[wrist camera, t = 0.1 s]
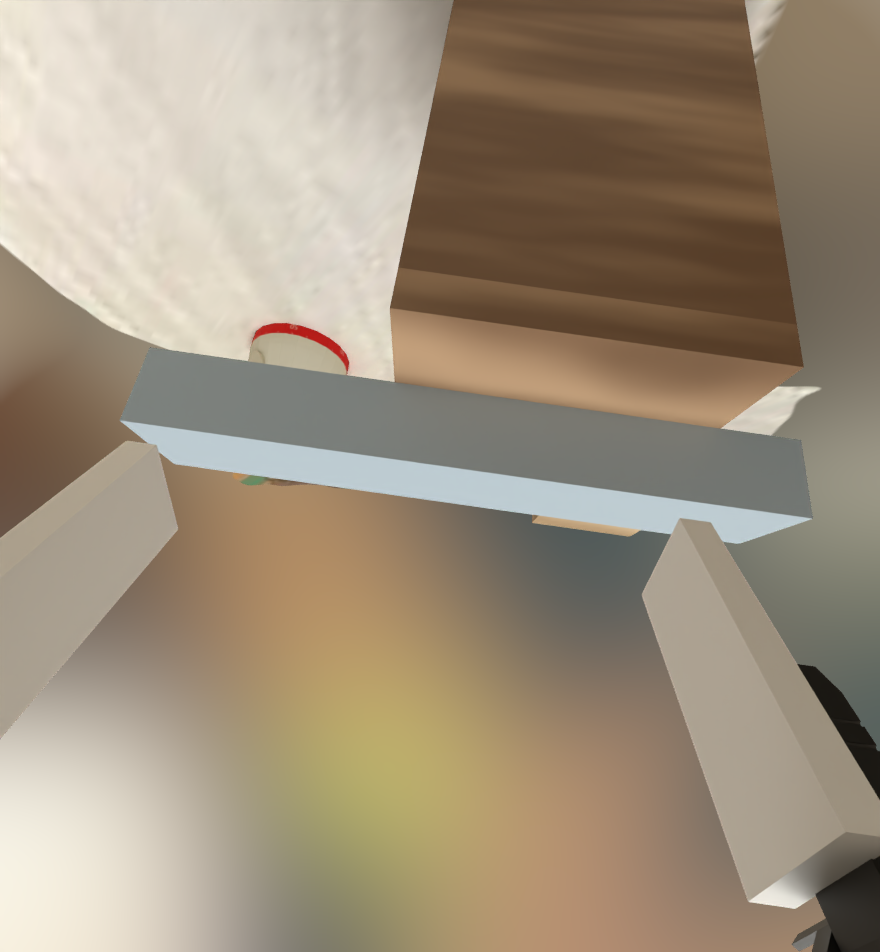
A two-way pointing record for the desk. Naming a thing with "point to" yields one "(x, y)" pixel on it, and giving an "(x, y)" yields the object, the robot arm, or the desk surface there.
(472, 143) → the rack
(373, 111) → the desk surface
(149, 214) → the desk surface
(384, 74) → the desk surface
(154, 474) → the robot arm
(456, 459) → the batten
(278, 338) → the kitchen timer
